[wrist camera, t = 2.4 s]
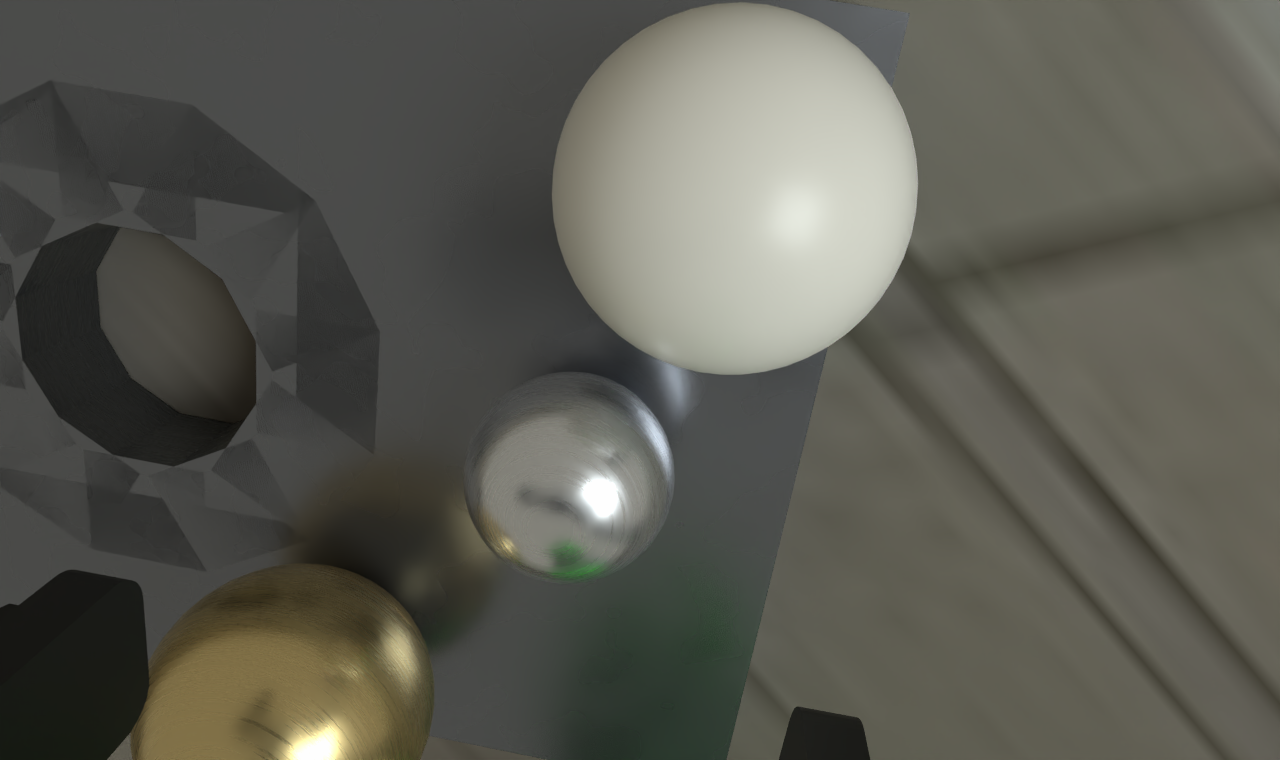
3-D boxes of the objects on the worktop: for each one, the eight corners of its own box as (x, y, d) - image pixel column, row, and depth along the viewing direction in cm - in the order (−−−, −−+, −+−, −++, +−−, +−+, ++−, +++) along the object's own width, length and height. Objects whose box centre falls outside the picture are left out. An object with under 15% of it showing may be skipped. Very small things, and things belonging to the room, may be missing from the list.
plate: (886, 19, 17) (909, 13, 15) (719, 722, 24) (717, 794, 21) (-106, -141, 18) (-230, -170, 16) (-7, 577, 25) (-85, 631, 22)
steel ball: (696, 363, 17) (685, 445, 14) (664, 532, 19) (646, 648, 15) (504, 328, 18) (441, 399, 14) (486, 499, 19) (426, 604, 15)
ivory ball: (921, 40, 15) (1019, 27, 10) (844, 341, 17) (893, 465, 12) (605, -11, 15) (536, -50, 10) (567, 292, 17) (493, 391, 12)
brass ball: (478, 540, 19) (378, 724, 14) (458, 738, 22) (365, 965, 16) (232, 492, 20) (40, 655, 14) (235, 693, 22) (69, 901, 16)
